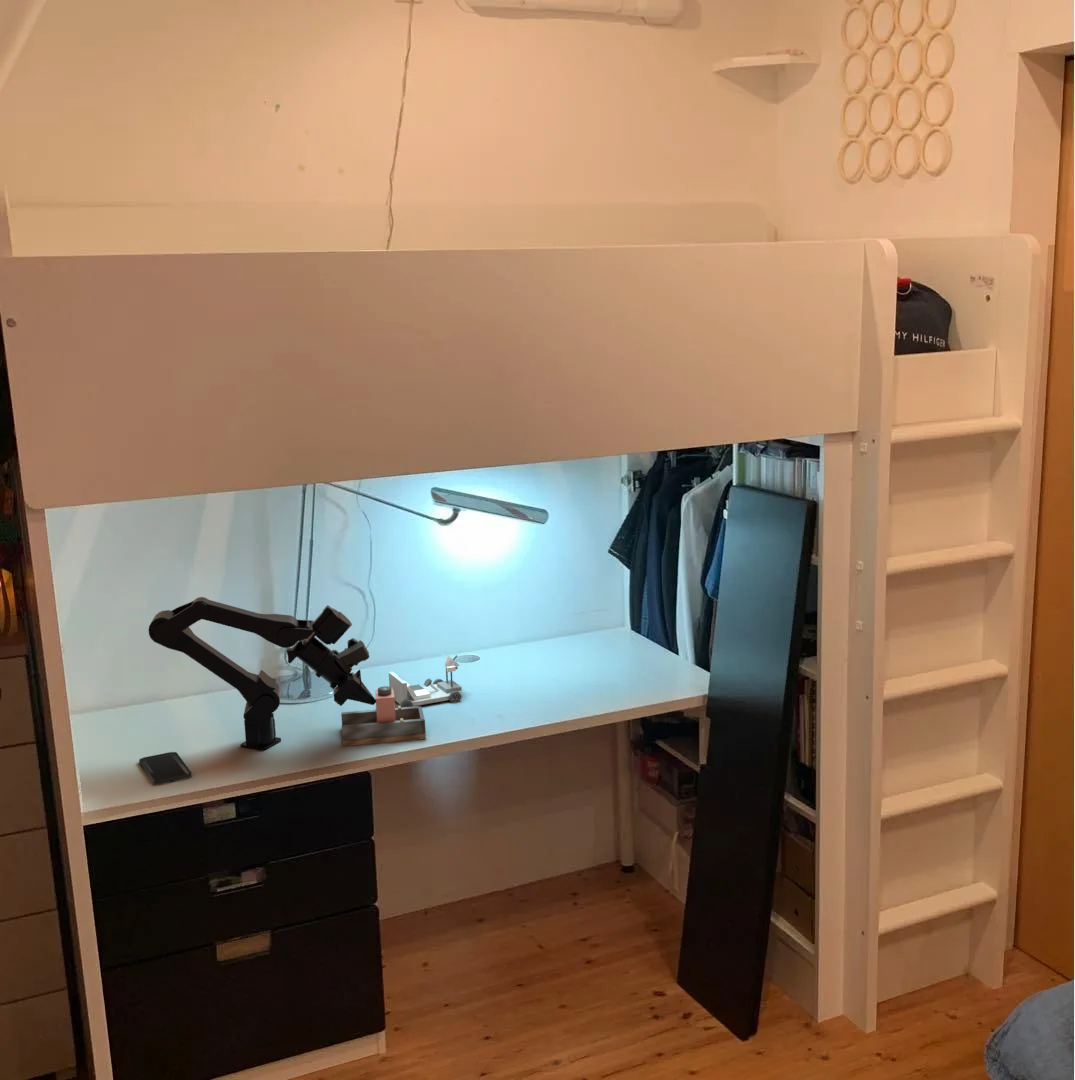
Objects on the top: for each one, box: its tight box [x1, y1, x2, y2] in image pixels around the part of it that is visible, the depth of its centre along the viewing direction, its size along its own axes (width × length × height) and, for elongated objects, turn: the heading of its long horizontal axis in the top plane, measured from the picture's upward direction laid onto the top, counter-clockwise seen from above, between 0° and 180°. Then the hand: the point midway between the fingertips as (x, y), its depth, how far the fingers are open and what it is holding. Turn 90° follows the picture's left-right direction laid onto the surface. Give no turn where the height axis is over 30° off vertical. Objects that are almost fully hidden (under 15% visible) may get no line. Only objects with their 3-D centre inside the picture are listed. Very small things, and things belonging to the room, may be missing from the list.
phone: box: [138, 751, 193, 786], centre depth 239 cm, size 8×1×15 cm
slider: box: [374, 685, 396, 722], centre depth 256 cm, size 4×6×9 cm, turn 10°
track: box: [340, 705, 427, 747], centre depth 257 cm, size 18×11×4 cm, turn 100°
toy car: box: [388, 655, 463, 708], centre depth 278 cm, size 18×10×12 cm
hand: (374, 703), depth 255 cm, fingers closed, pressing on slider
